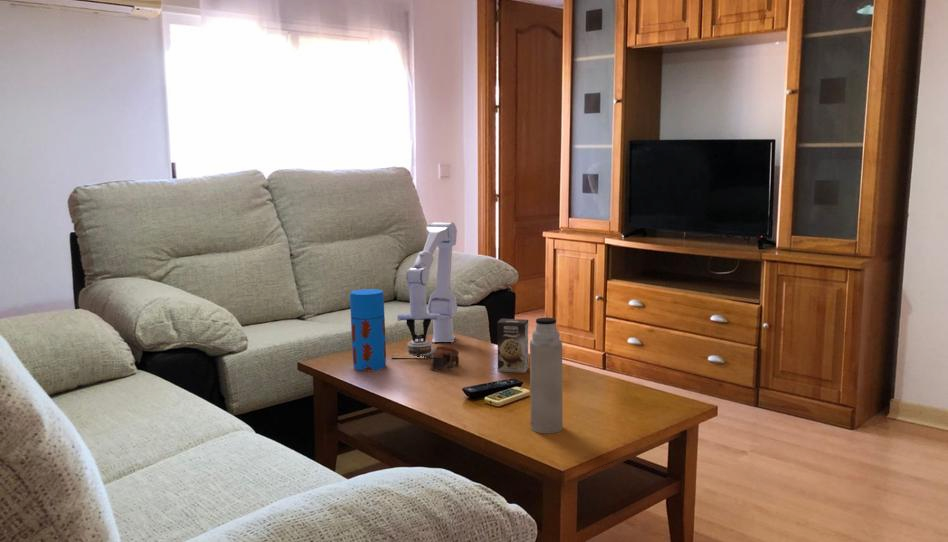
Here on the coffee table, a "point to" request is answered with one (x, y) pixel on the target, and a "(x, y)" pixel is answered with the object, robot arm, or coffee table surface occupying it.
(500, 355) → the grey cardboard box
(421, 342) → the silver lid with knob
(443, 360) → the brown animal figurine
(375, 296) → the thermos
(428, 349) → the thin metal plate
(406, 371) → the coffee table surface
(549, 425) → the thermos bottle
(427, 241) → the robot arm
